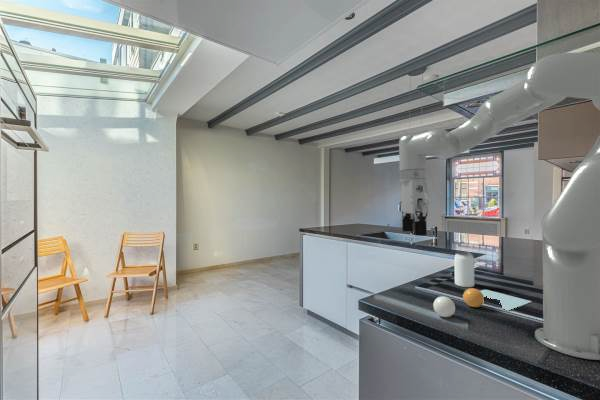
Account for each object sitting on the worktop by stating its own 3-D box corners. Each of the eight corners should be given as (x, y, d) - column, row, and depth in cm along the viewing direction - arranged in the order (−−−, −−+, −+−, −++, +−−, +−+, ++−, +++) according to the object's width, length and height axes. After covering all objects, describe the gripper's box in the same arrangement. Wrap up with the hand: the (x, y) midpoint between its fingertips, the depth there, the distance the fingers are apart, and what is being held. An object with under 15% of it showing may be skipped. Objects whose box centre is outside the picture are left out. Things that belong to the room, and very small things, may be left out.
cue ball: (459, 317, 79) (459, 298, 79) (447, 322, 76) (446, 301, 76) (441, 311, 84) (441, 292, 84) (429, 315, 81) (428, 295, 81)
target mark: (531, 302, 90) (531, 301, 90) (508, 311, 83) (508, 310, 83) (485, 289, 102) (485, 289, 102) (461, 296, 95) (461, 296, 95)
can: (477, 288, 104) (476, 255, 104) (458, 287, 105) (457, 255, 105) (470, 283, 110) (470, 252, 110) (452, 282, 111) (451, 251, 111)
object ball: (488, 307, 86) (488, 289, 86) (477, 311, 83) (477, 292, 83) (470, 302, 91) (469, 284, 90) (459, 305, 88) (459, 287, 88)
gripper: (439, 173, 77) (440, 236, 78) (414, 178, 95) (414, 229, 95) (411, 174, 77) (412, 237, 78) (391, 178, 95) (392, 230, 95)
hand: (413, 233), depth 86 cm, fingers open, 9 cm apart
